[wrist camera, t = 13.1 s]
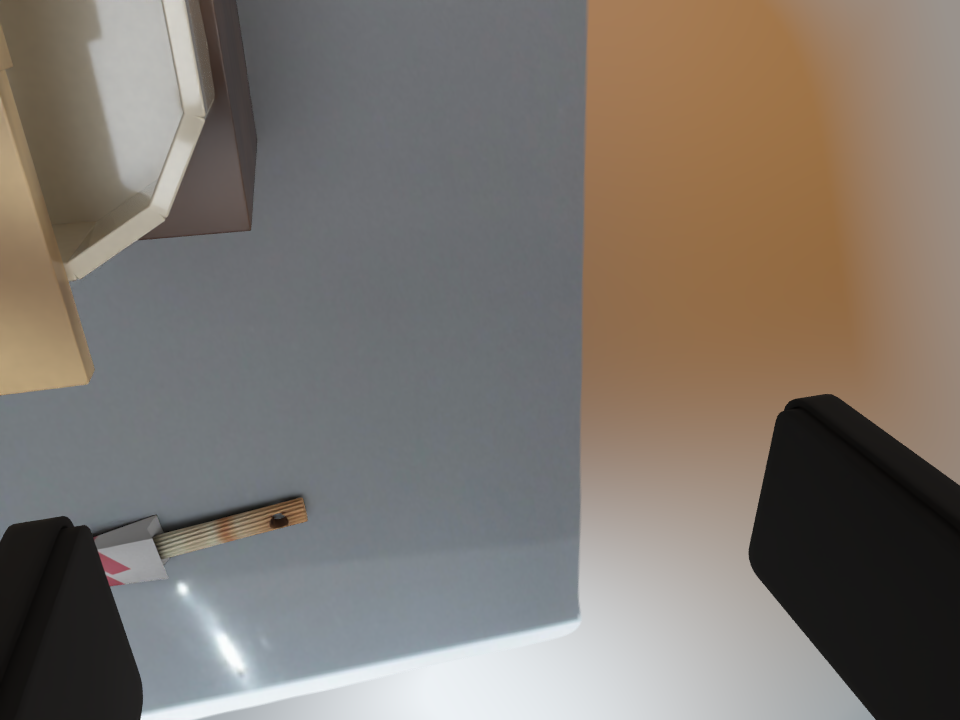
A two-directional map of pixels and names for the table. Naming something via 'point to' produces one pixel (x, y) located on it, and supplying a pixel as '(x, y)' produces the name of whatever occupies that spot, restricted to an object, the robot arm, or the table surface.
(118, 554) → the paintbrush
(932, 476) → the robot arm
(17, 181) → the tan block
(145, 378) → the table surface
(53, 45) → the bowl
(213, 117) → the stand
